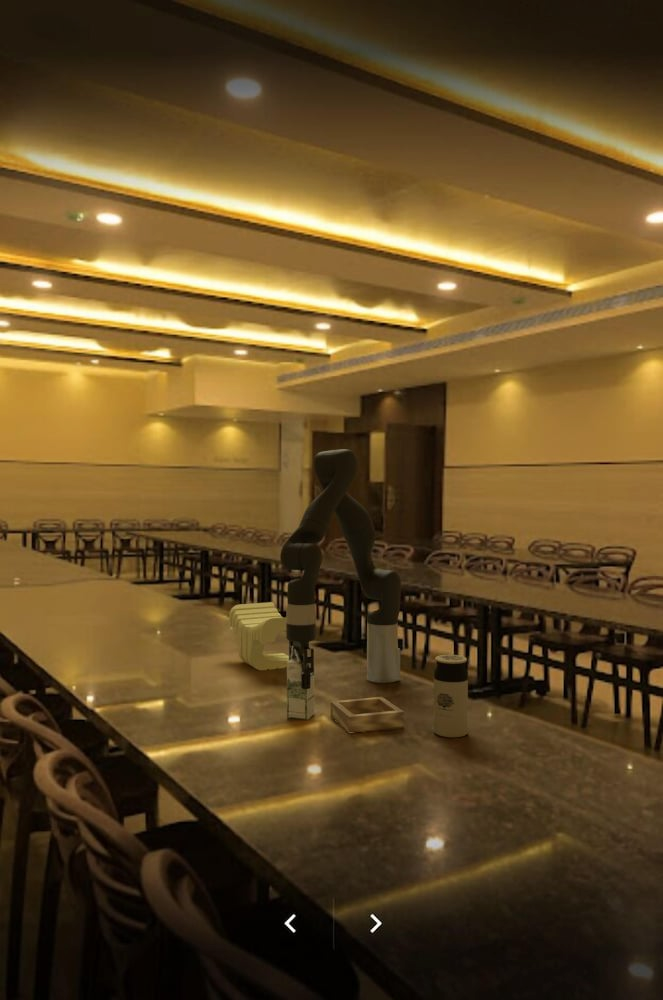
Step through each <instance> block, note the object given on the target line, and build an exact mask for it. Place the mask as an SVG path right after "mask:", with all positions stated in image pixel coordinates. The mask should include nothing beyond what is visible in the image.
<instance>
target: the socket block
mask: <svg viewBox="0 0 663 1000" xmlns="http://www.w3.org/2000/svg"><path fill="white" fill-rule="evenodd" d="M331 717H332V718H333V719H334V720H333V719H332V718H331ZM330 718H331V719H332V720H333V721H335V720H336V721H337V722H338V723H339V724H340V725H342V726H343V727H344V728H345V729H346V730H348V731H349V732H362V733H367V732H366V731H371V732H378V731H379V732H380V730H381V731H387V730H398V729H404V728H405V711H404V710H402V709H400V707H398V706H396V705H395V704H393V703H392V702H390V701H389V700H387V699H385V698H384V697H383V696H374V697H365V698H355V699H354V698H352V699H344V700H342V699H340V700H333V701H332V700H331V701H330ZM336 721H335V722H336ZM337 722H336V723H337ZM338 723H337V724H338ZM339 724H338V725H339ZM340 725H339V726H340ZM343 727H342V728H343ZM344 728H343V729H344ZM345 729H344V730H345ZM346 730H345V731H346Z"/></svg>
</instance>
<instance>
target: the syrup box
mask: <svg viewBox="0 0 663 1000" xmlns="http://www.w3.org/2000/svg"><path fill="white" fill-rule="evenodd" d="M315 663H316V661H315V659H314V673H311V678H310V689H302V688H301V669H300V666H298V663H297V660H296V658H292V659H290V660H289V661H288V662H287V668H286V718H288V719H295V720H304V721H305V720H307V721H308V720H309V719H311V718H312V717H313V716H314V715H315V713H316V712H315V677H316V675H315V674H316V673H315V672H316V671H315V670H316V668H315V667H316V664H315ZM306 668H308V665H307V664H306ZM312 715H313V716H312ZM311 716H312V717H311ZM310 717H311V718H310Z"/></svg>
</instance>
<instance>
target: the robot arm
mask: <svg viewBox="0 0 663 1000" xmlns="http://www.w3.org/2000/svg"><path fill="white" fill-rule="evenodd" d="M313 466H314V468H313V469H314V473H315V475H316V478H317V480H318V482H319V484H320V487H321V489H322V492H321V493H319V494H318V495H317V496H316V497H315V498H314V499H313V500H312V501H311V503H309V505H308V506H307V508H306V509H305V511H304V513H303V516H302V518H301V520H300V523H299V525H298V527H297V528H296V529H295V530H294V532H293V533H292V534H291V535H290V536H289V537H288V539H287V540H286V541H285V542H284V544H283V546H282V548H281V550H280V554H279V557H280V558H279V559H280V563H281V565H282V567H284V568H285V569H286V570H291V571H303V575H302V576H301V578H297V579H293V580H292V579H291V580H290V581H289V582H288V583H287V592H286V593H287V597H286V598H287V601H286V603H287V606H286V616H285V617H286V630H285V634H286V635H285V639H286V640H287V641H288V656H289V660H290V659H292V658H296V660H297V663H298V666H300V669H301V688H302V689H310V678H311V673H314V660H315V658H314V657H315V655H314V653H315V651H314V648H311V647H310V642H313V641H315V640H316V638H317V610H316V585H317V579H318V576H319V573H320V569H321V566H322V562H323V553H322V549H321V548H320V546H319V545H318V544H319V543H321V542H322V540H323V539H324V537H325V534H326V532H327V529H328V527H329V524H330V522H331V519H332V517H333V515H335V516H336V520H337V523H338V524H339V528H340V531H341V533H342V535H343V538H344V540H345V543H346V544H347V547H348V549H349V552H350V555H351V557H352V560H353V563H354V567H355V570H356V573H357V577H358V581H359V584H360V587H361V590H362V593H363V594H364V596H365V597H366V598H368V599H370V600H375V601H380V602H381V603H380V607H379V608H378V609H377V610H372V611H370V612H369V613H368V614H367V615H366V616H367V617H366V618H367V620H366V622H367V624H366V640H367V641H366V680H367V681H368V682H371V683H377V684H389V683H394V682H397V681H401V648H400V647H399V643H398V640H399V634H398V633H399V632H398V631H399V629H398V627H399V615H400V609H401V593H402V581H401V577H400V574H399V573H398V572H397V571H395V570H392V569H382V568H381V569H380V568H377V567H376V565H375V564H374V561H373V559H372V551H373V549H374V545H375V542H376V539H377V532H376V530H375V529H376V528H375V526H374V523H373V520H372V518H371V516H370V513H369V512H368V511H367V509H365V507H364V506H363V505H361V504H360V502H358V501H357V500H356V499H355V498H354V497H352V496H351V494H349V493H348V492H347V491H348V489H349V488H350V487H351V485H352V484H353V482H354V480H355V478H356V477H357V473H358V467H359V462H358V458H357V455H356V454H355V452H354V451H352V450H351V449H348V448H347V449H345V448H344V449H333V450H332V449H331V450H325V451H320V452H318V453H317V454H315V457H314V460H313ZM306 664H307V665H308V668H306Z"/></svg>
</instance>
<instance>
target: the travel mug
mask: <svg viewBox="0 0 663 1000" xmlns="http://www.w3.org/2000/svg"><path fill="white" fill-rule="evenodd" d="M434 659H435V661H436V666H435V669H434V671H433V733H434V734H435V735H437V736H440V737H443V738H449V739H450V738H451V739H453V738H454V739H457V738H463V737H464V736H466V735H467V734H468V717H469V716H468V714H469V713H468V709H469V707H468V704H469V703H468V699H469V696H468V695H469V694H468V693H469V692H468V691H469V689H468V688H469V686H468V685H469V684H468V683H469V673H468V670H467V668H466V663H467V661H468V659H467V657H466V656H463V655H457V654H441V655H437V656H435V658H434Z"/></svg>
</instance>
